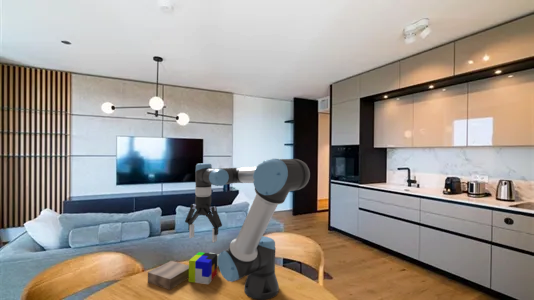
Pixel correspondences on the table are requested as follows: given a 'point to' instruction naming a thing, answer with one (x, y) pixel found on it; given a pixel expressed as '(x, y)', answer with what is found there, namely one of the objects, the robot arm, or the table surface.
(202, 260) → the puzzle toy
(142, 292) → the table surface
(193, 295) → the table surface
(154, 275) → the taupe block
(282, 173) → the robot arm
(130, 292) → the table surface
